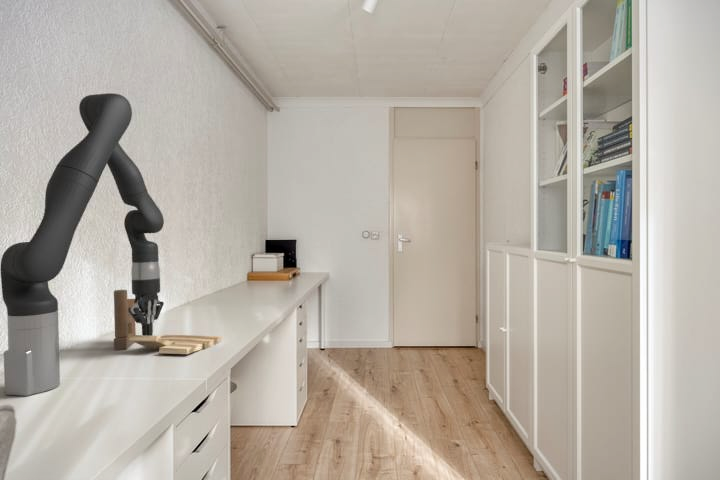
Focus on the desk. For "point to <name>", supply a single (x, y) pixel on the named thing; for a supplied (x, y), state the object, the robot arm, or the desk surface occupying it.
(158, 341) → the plank
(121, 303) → the wooden block
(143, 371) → the desk surface
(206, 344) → the laid floor
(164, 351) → the plank
